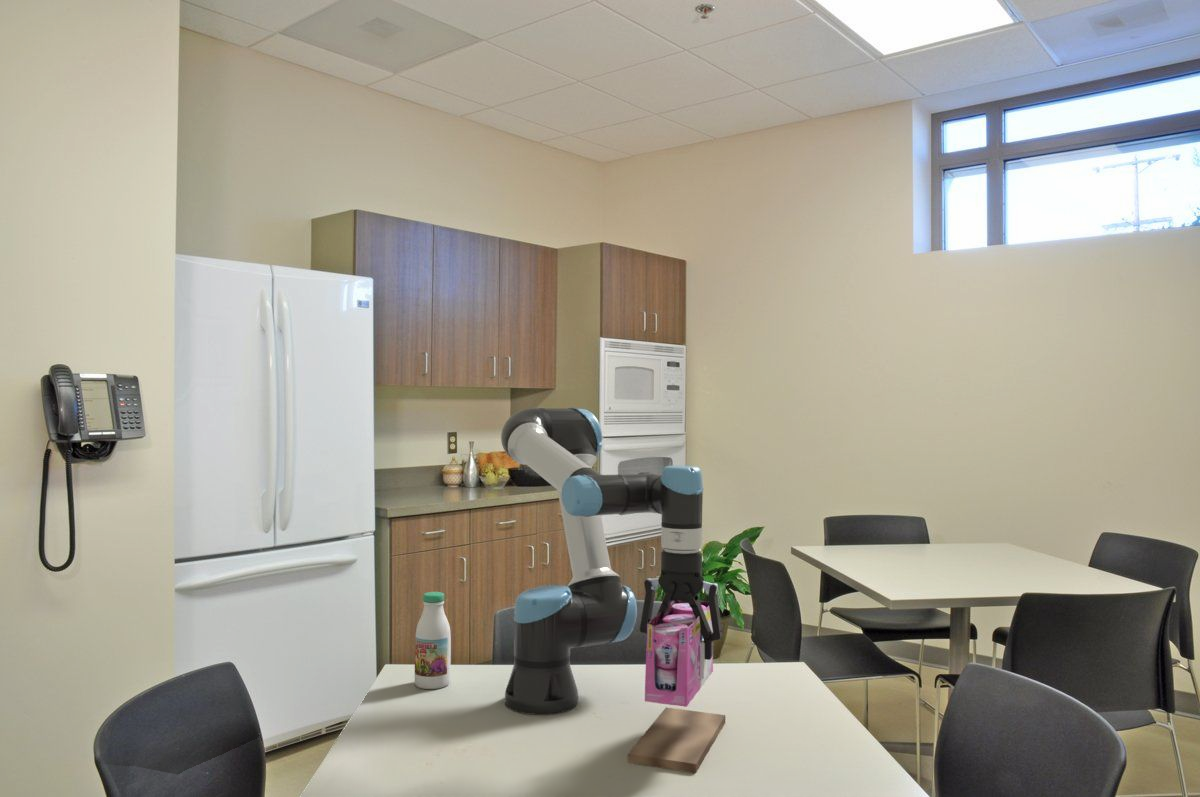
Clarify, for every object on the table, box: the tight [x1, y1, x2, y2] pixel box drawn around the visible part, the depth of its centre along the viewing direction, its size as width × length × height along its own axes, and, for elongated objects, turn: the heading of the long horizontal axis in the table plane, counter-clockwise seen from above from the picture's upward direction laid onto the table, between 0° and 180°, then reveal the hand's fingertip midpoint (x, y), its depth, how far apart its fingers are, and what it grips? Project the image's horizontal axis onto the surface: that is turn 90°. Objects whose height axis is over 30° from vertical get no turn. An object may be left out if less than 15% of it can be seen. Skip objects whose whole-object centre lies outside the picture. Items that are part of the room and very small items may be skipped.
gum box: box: [644, 600, 714, 708], centre depth 158 cm, size 24×8×14 cm, turn 161°
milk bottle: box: [414, 591, 452, 690], centre depth 189 cm, size 8×8×20 cm
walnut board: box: [627, 706, 726, 774], centre depth 158 cm, size 12×25×2 cm, turn 160°
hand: (680, 674), depth 158 cm, fingers closed on gum box, 8 cm apart
